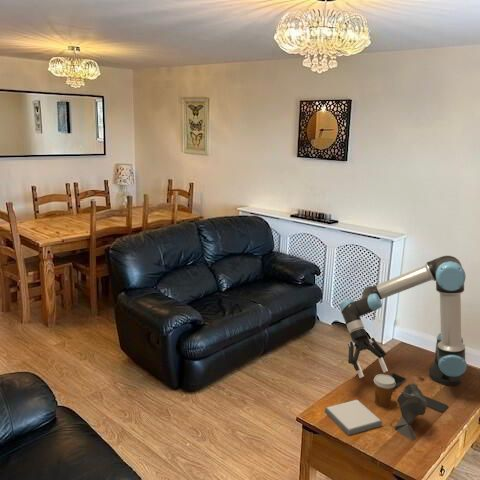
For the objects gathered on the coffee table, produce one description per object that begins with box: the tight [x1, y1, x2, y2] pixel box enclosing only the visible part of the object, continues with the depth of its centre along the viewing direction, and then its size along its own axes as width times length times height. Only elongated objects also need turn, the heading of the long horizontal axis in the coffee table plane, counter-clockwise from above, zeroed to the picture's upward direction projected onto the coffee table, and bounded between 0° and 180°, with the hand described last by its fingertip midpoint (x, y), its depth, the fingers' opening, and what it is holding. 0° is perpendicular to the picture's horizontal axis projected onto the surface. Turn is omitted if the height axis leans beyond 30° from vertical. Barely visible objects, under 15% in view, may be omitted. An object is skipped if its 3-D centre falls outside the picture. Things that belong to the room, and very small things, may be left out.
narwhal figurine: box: [394, 383, 428, 441], centre depth 197 cm, size 14×15×18 cm
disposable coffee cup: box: [373, 373, 396, 407], centre depth 213 cm, size 10×10×12 cm
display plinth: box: [324, 399, 383, 436], centre depth 202 cm, size 17×17×2 cm
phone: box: [424, 395, 449, 414], centre depth 215 cm, size 7×1×15 cm
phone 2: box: [388, 373, 407, 391], centre depth 231 cm, size 8×1×15 cm
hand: (374, 374), depth 217 cm, fingers open, 13 cm apart
